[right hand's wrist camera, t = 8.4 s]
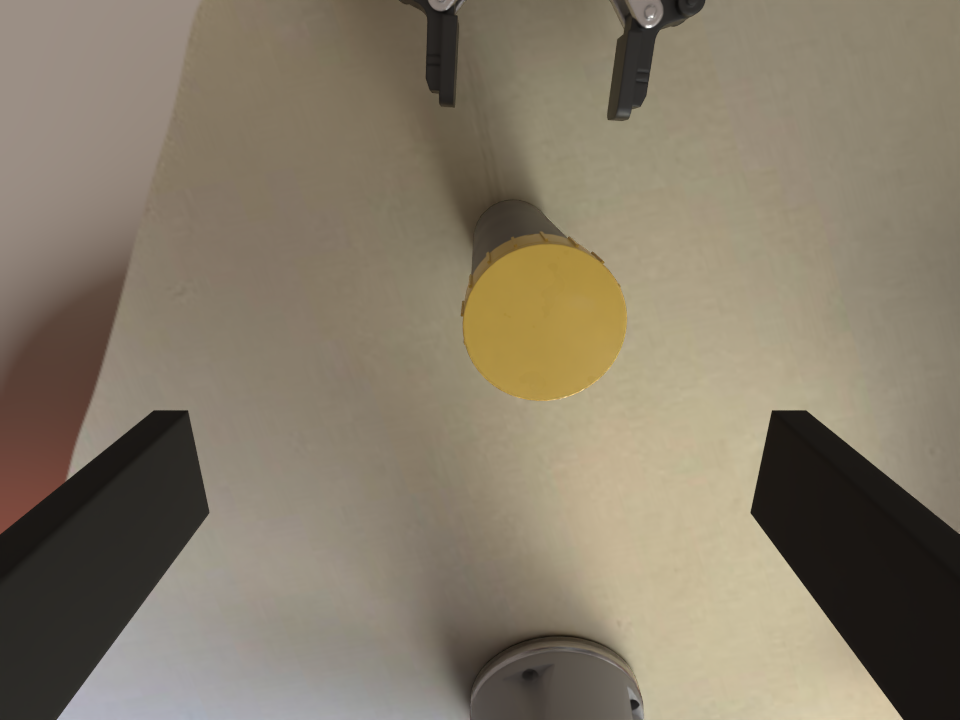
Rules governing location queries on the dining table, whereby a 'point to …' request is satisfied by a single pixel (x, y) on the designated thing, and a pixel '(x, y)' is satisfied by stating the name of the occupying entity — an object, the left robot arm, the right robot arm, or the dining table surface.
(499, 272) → the lid
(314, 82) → the dining table surface
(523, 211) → the jar
